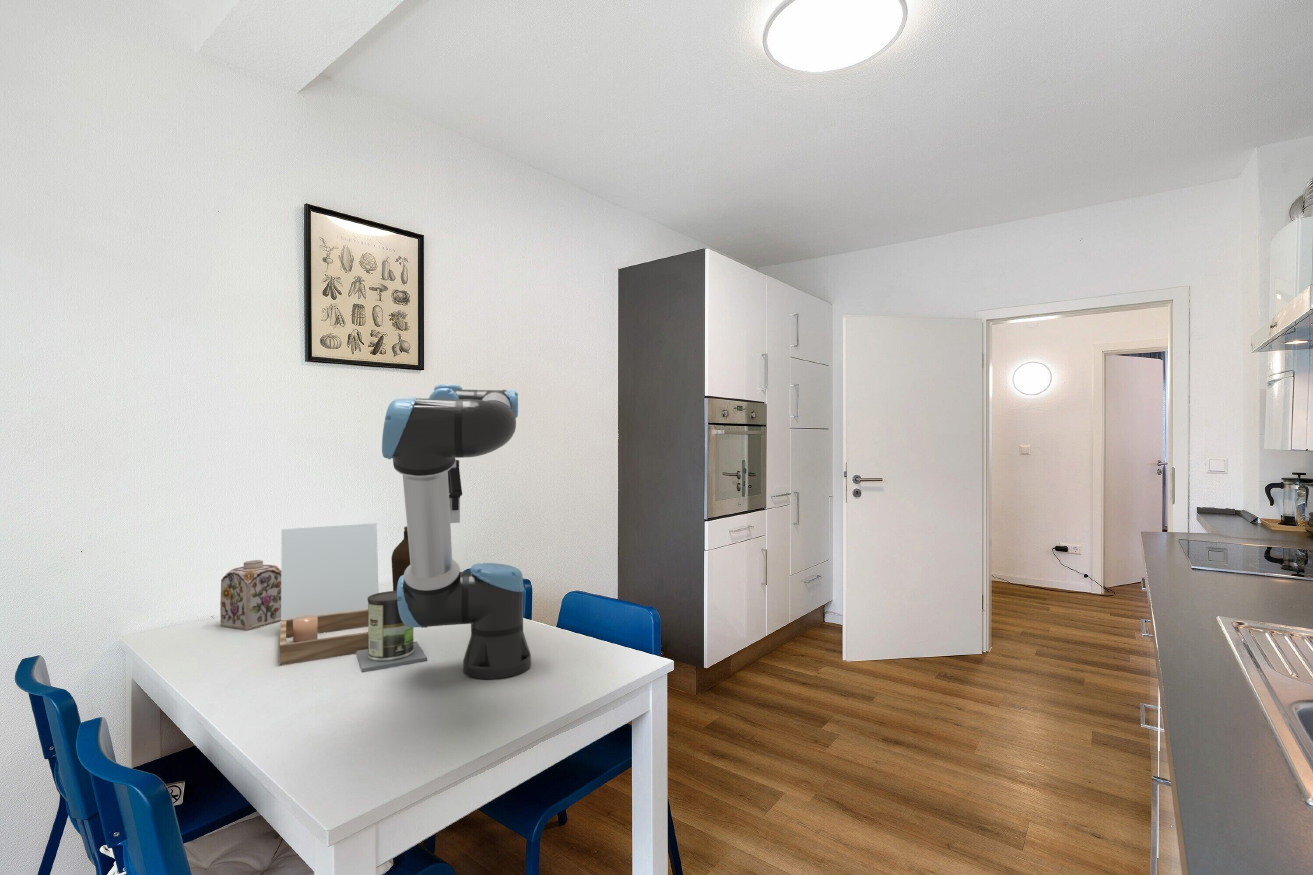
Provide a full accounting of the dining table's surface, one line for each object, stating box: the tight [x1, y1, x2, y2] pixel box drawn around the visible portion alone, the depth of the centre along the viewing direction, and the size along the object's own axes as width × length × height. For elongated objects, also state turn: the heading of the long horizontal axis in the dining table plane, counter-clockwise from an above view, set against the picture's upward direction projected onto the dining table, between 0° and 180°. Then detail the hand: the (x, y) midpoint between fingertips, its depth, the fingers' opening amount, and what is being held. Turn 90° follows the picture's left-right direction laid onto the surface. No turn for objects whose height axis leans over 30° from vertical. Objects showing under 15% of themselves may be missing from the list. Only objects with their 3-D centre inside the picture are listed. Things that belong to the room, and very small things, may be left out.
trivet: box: [355, 640, 428, 673], centre depth 148 cm, size 14×14×1 cm
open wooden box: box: [279, 609, 368, 666], centre depth 159 cm, size 24×24×4 cm
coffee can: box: [367, 590, 415, 661], centre depth 148 cm, size 10×10×14 cm
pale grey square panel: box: [280, 523, 380, 620], centre depth 173 cm, size 24×24×1 cm
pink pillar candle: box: [292, 616, 319, 643], centre depth 160 cm, size 6×6×6 cm
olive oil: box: [390, 525, 410, 591], centre depth 197 cm, size 11×11×25 cm
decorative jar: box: [219, 559, 281, 631], centre depth 177 cm, size 12×12×18 cm
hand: (448, 520), depth 167 cm, fingers open, 13 cm apart
